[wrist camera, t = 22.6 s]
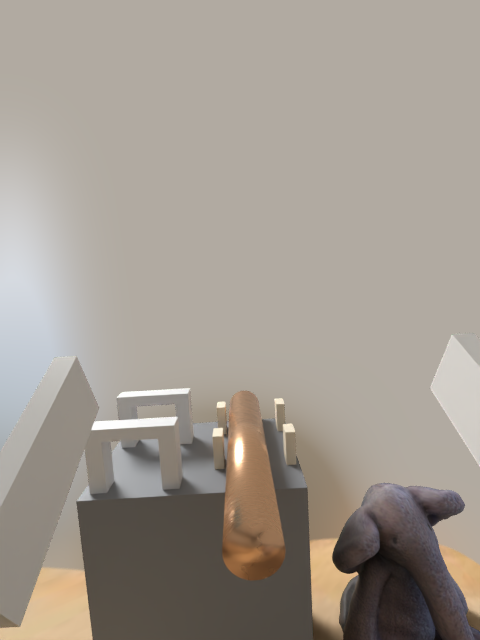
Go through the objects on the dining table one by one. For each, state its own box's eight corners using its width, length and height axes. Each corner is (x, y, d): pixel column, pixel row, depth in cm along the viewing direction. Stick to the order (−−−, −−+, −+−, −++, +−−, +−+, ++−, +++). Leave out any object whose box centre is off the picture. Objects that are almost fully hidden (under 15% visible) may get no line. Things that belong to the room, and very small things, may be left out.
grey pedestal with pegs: (107, 762, 35) (68, 436, 31) (148, 610, 51) (125, 383, 47) (317, 749, 35) (304, 422, 31) (291, 602, 51) (281, 373, 47)
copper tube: (290, 574, 22) (279, 517, 22) (228, 585, 22) (216, 528, 22) (261, 416, 48) (256, 388, 47) (232, 421, 48) (227, 393, 48)
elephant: (488, 927, 25) (495, 676, 23) (304, 618, 48) (299, 479, 46) (641, 771, 32) (659, 568, 30) (417, 568, 55) (417, 445, 53)
